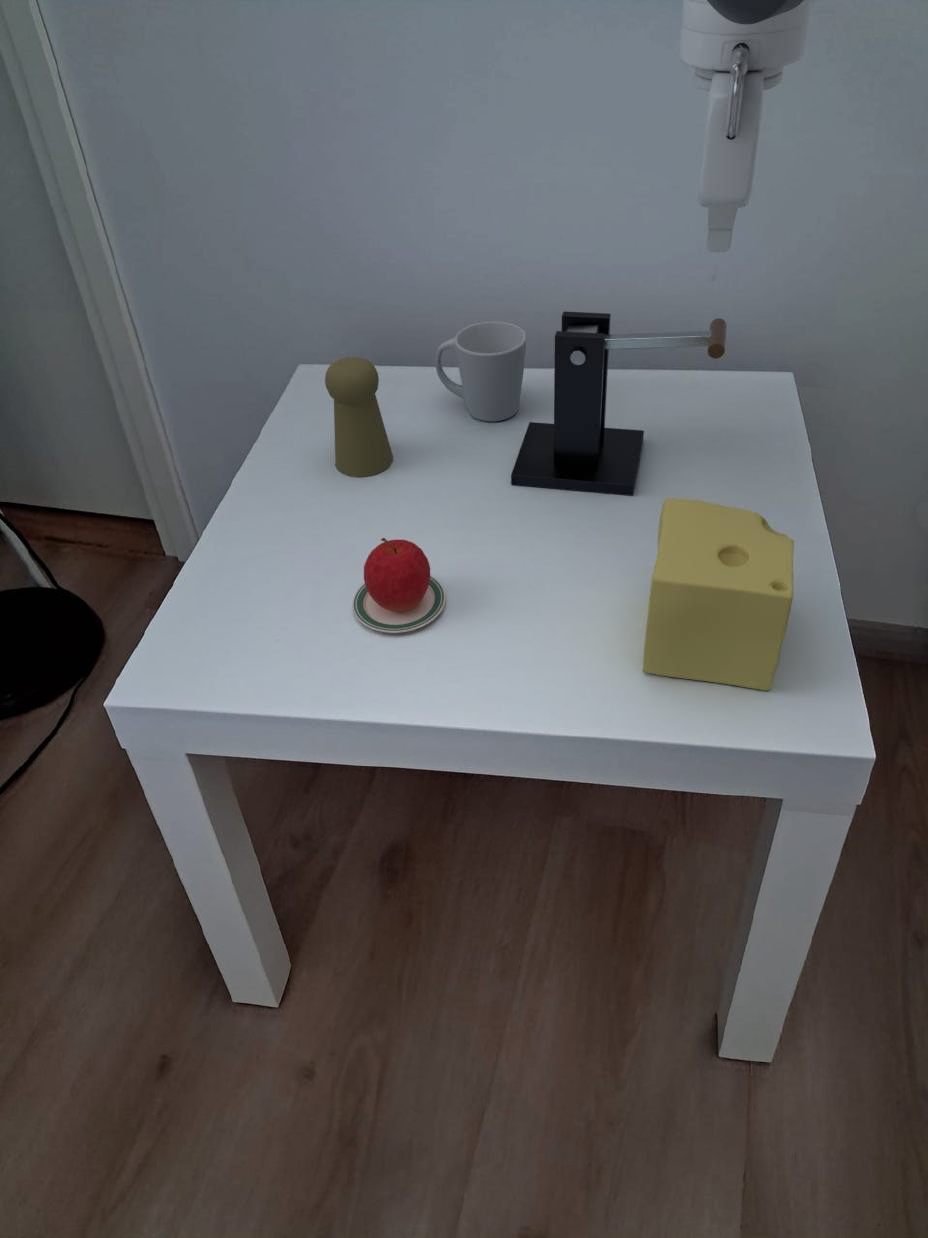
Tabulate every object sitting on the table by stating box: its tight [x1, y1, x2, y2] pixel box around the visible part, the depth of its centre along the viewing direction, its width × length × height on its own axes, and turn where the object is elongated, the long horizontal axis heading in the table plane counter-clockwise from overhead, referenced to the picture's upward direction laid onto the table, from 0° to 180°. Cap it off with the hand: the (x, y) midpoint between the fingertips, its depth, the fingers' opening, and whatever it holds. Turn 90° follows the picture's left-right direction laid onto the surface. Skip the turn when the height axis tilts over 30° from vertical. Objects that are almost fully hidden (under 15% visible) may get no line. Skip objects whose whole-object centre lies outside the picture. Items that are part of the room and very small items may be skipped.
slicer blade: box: [567, 317, 728, 360], centre depth 85 cm, size 14×5×2 cm, turn 77°
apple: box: [352, 537, 447, 634], centre depth 78 cm, size 8×8×6 cm
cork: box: [324, 356, 394, 478], centre depth 94 cm, size 6×6×11 cm
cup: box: [434, 321, 528, 423], centre depth 101 cm, size 8×10×8 cm
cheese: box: [642, 497, 795, 692], centre depth 72 cm, size 10×11×10 cm
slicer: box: [510, 310, 645, 497], centre depth 90 cm, size 12×10×15 cm
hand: (720, 225), depth 77 cm, fingers open, 8 cm apart
